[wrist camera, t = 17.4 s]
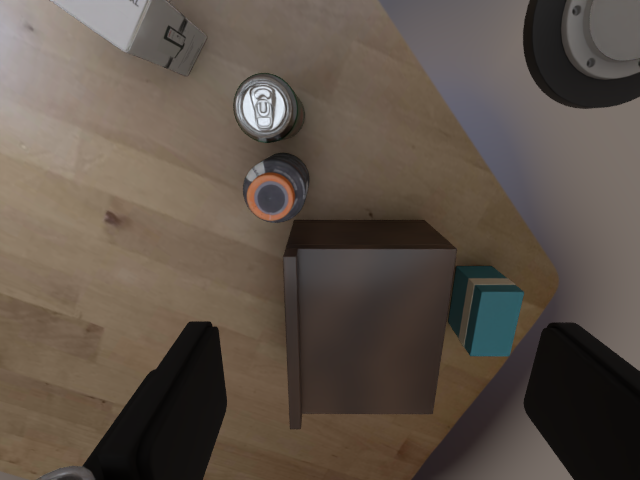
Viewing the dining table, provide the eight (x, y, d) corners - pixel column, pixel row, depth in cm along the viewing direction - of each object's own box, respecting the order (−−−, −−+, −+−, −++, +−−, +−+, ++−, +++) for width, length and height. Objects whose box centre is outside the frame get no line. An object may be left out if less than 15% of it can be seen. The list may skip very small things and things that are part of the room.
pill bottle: (250, 164, 37) (221, 178, 26) (297, 144, 36) (287, 150, 26) (271, 211, 39) (253, 241, 28) (317, 192, 38) (315, 217, 28)
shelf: (424, 220, 39) (466, 256, 28) (410, 355, 46) (439, 430, 34) (294, 220, 39) (282, 256, 28) (297, 355, 46) (289, 429, 34)
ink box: (113, 26, 33) (5, -26, 22) (133, -22, 31) (29, -105, 20) (188, 79, 34) (124, 55, 23) (210, 35, 33) (153, -12, 22)
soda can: (304, 89, 35) (295, 69, 23) (305, 138, 36) (298, 142, 25) (257, 90, 35) (225, 71, 23) (261, 139, 36) (233, 144, 25)
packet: (492, 265, 41) (525, 291, 34) (481, 322, 44) (510, 356, 37) (455, 265, 41) (481, 291, 35) (447, 322, 44) (469, 356, 37)
